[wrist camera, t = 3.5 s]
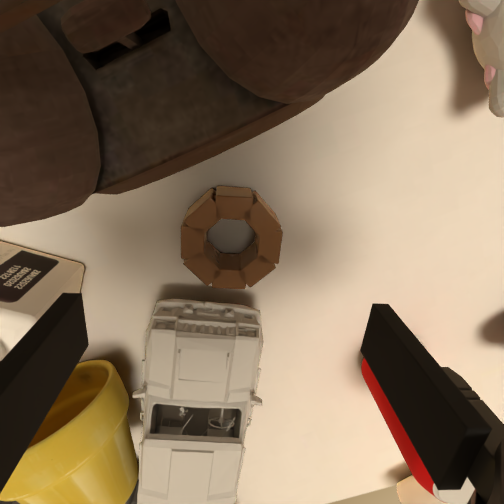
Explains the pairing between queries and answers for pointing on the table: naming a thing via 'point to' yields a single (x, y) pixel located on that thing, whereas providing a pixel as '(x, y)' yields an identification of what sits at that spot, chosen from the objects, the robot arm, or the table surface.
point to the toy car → (197, 400)
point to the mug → (414, 493)
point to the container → (30, 289)
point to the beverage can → (411, 446)
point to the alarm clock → (161, 85)
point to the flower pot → (80, 445)
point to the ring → (226, 264)
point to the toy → (489, 46)
